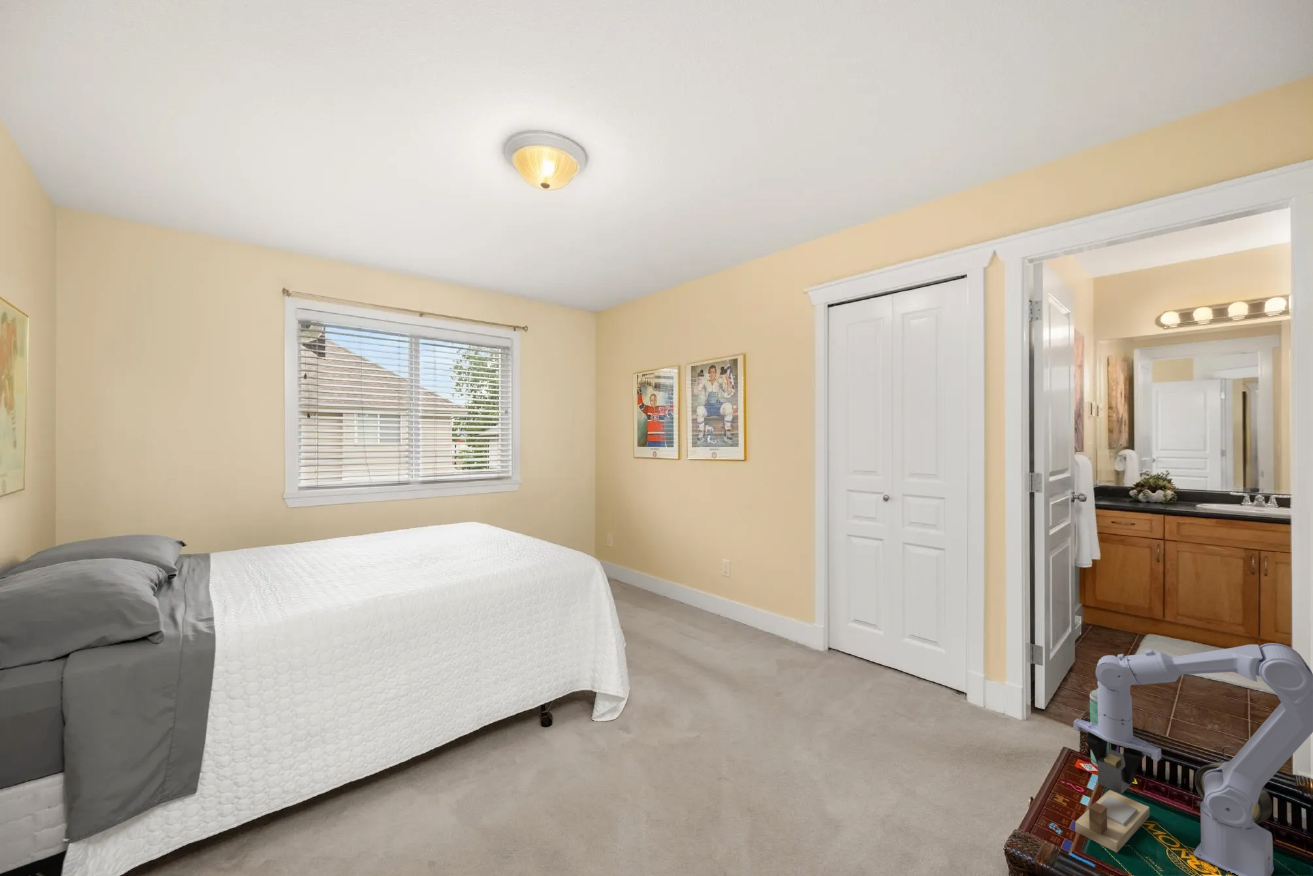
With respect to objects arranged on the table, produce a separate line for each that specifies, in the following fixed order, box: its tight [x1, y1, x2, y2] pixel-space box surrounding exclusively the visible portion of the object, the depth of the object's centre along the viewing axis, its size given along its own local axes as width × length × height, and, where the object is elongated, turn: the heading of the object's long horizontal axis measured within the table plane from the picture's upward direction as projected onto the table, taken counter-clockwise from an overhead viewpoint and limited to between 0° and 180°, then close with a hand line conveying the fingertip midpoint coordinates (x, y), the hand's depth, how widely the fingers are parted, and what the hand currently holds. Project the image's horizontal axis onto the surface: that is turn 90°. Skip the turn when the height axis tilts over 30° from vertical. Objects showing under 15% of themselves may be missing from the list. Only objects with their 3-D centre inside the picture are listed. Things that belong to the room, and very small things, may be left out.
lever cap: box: [1097, 750, 1134, 795], centre depth 117 cm, size 4×7×6 cm, turn 122°
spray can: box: [1089, 687, 1120, 768], centre depth 136 cm, size 6×6×20 cm
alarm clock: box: [1194, 745, 1273, 825], centre depth 115 cm, size 11×5×16 cm, turn 17°
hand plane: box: [1074, 789, 1150, 853], centre depth 116 cm, size 7×18×6 cm, turn 122°
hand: (1116, 776), depth 117 cm, fingers closed on lever cap, 4 cm apart
